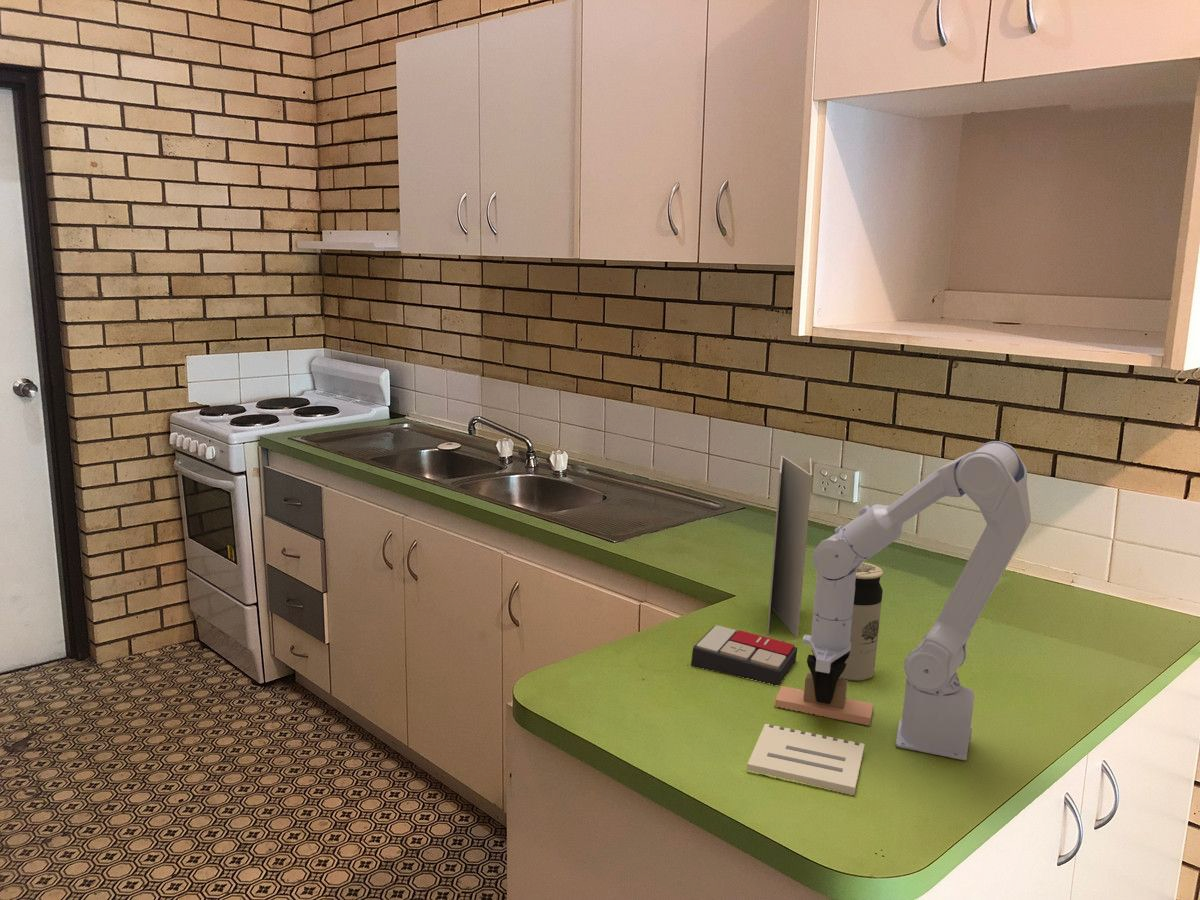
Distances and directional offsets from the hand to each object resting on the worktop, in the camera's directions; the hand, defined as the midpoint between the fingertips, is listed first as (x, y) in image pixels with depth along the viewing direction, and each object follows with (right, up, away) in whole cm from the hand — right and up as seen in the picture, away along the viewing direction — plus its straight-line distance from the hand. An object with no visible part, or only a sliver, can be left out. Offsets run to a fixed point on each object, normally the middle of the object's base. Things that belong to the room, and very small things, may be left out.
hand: (824, 697), depth 148 cm
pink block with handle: (0, -2, 0) cm, 2 cm away
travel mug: (+7, +1, +14) cm, 16 cm away
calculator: (-10, +1, +16) cm, 19 cm away
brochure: (0, +5, +34) cm, 35 cm away
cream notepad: (-6, -5, -15) cm, 17 cm away
